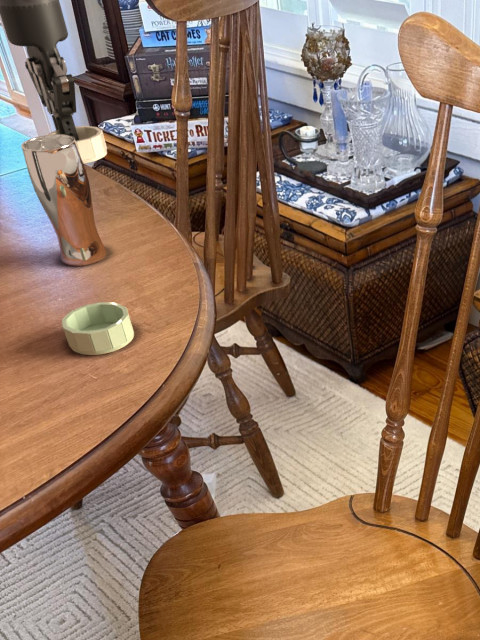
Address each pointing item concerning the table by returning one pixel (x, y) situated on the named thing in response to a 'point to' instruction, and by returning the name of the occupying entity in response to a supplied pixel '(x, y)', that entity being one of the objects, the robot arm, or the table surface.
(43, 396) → the table surface
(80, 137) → the faceted cream ring
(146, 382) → the table surface
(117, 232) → the table surface
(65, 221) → the beer glass
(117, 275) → the table surface
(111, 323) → the pale green hollow cylinder
